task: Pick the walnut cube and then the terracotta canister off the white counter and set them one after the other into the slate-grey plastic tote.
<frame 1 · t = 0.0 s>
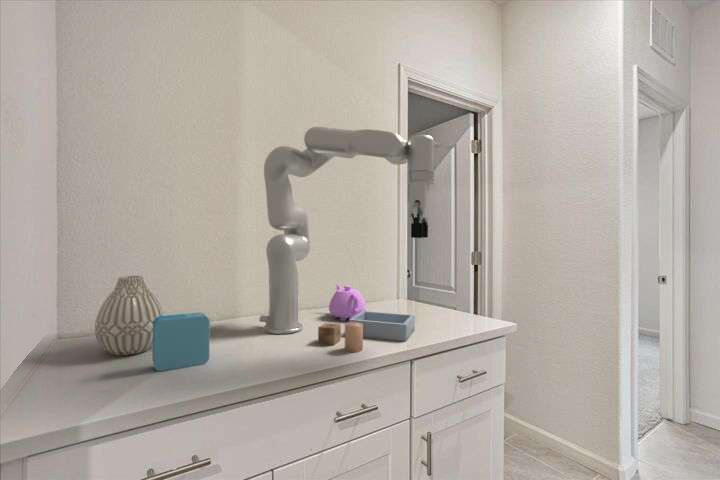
hand: (419, 237, 110), 31 cm above the worktop, fingers open, 9 cm apart
teapot: (346, 317, 145), on the worktop
data package: (181, 365, 91), on the worktop
vase: (130, 351, 102), on the worktop
wood cube: (329, 342, 111), on the worktop
tote: (382, 332, 123), on the worktop
terracotta canister: (353, 349, 105), on the worktop
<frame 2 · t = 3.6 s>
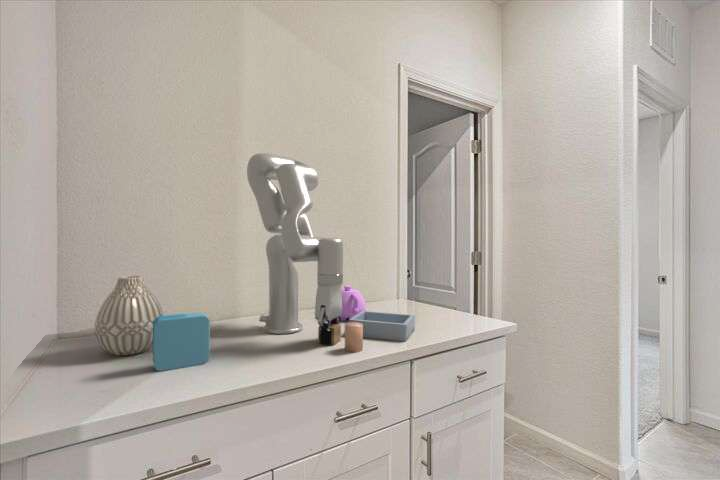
hand: (329, 340, 111), 0 cm above the worktop, fingers closed on wood cube, 5 cm apart
wood cube: (329, 342, 111), on the worktop, touching gripper
everything else where it was.
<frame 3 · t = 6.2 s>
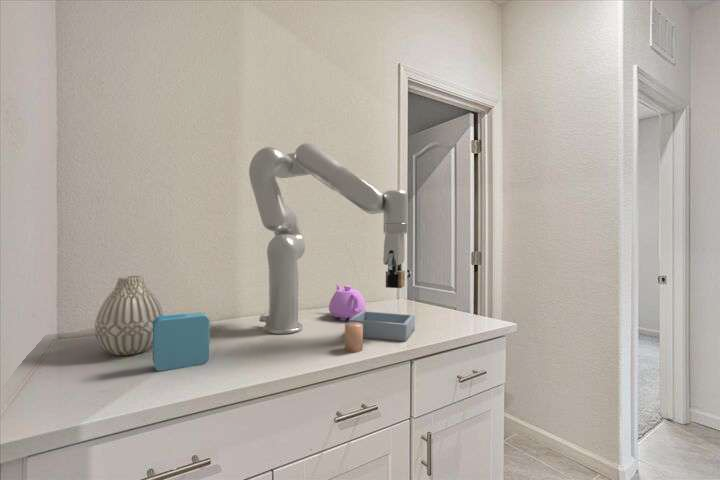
hand: (395, 285, 121), 16 cm above the worktop, fingers closed on wood cube, 5 cm apart
wood cube: (395, 286, 121), point 15 cm above the worktop, touching gripper
everything else where it was.
when the fingers open (5 cm above the worktop, at t = 8.6 s): wood cube drops 4 cm, resting on tote.
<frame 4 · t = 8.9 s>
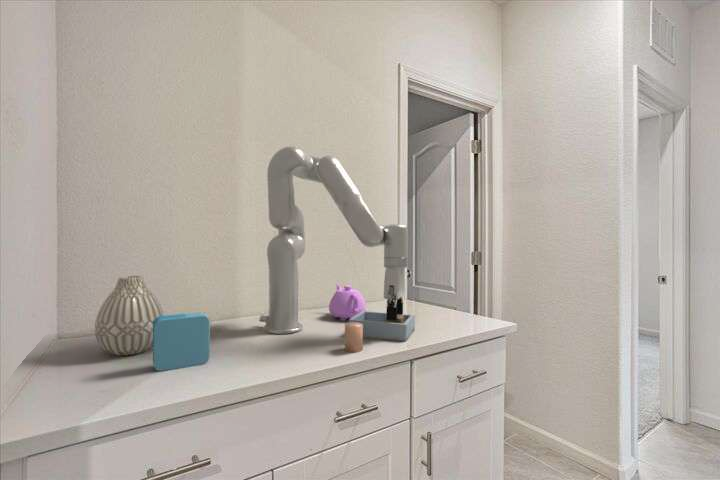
hand: (394, 316, 121), 6 cm above the worktop, fingers open, 8 cm apart
wood cube: (394, 331, 121), point 1 cm above the worktop, touching tote
everything else where it was.
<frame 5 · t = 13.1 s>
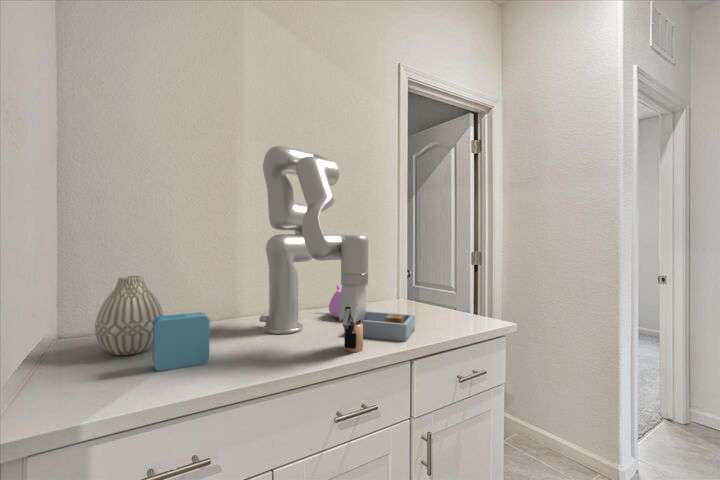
hand: (353, 344, 105), 1 cm above the worktop, fingers closed on terracotta canister, 5 cm apart
terracotta canister: (353, 349, 105), on the worktop, touching gripper
everything else where it was.
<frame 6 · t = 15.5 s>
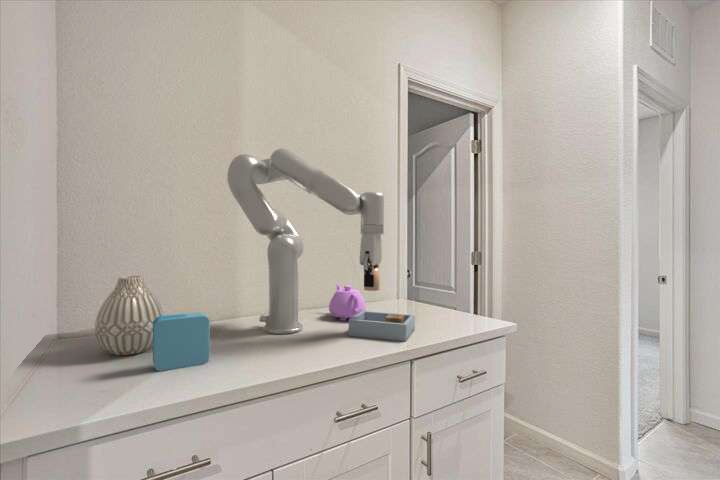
hand: (371, 285, 124), 15 cm above the worktop, fingers closed on terracotta canister, 5 cm apart
terracotta canister: (371, 289, 124), point 14 cm above the worktop, touching gripper
everything else where it was.
when the fingers open (5 cm above the worktop, at t = 17.8 s): terracotta canister drops 3 cm, resting on tote.
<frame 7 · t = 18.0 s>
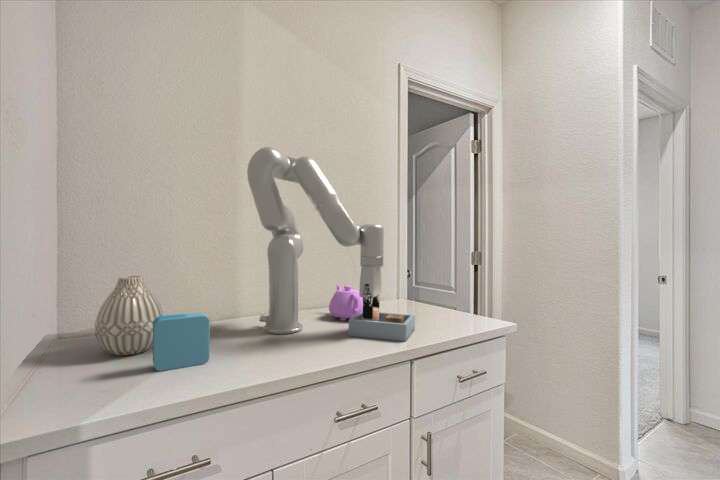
hand: (371, 315, 124), 5 cm above the worktop, fingers open, 7 cm apart
terracotta canister: (371, 329, 124), point 1 cm above the worktop, touching tote
everything else where it was.
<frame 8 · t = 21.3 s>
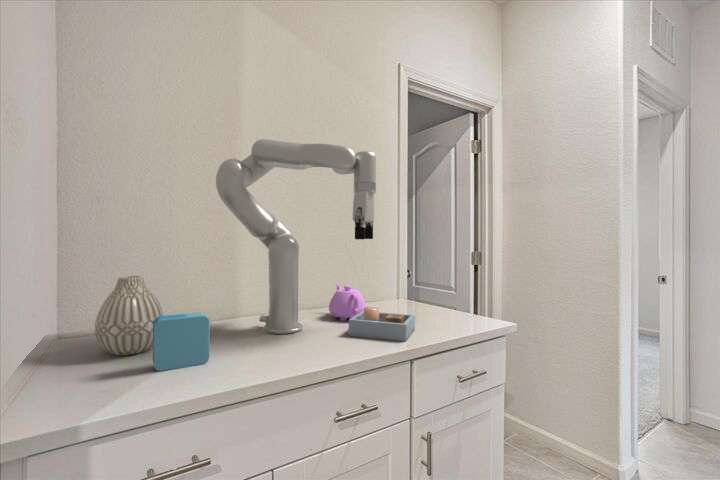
hand: (364, 239, 129), 30 cm above the worktop, fingers open, 9 cm apart
nothing on the worktop moved.
at the end: wood cube inside the target area on the tote (4.0 cm from its centre), point 0.6 cm above the tote's base; terracotta canister inside the target area on the tote (4.0 cm from its centre), point 0.6 cm above the tote's base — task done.
